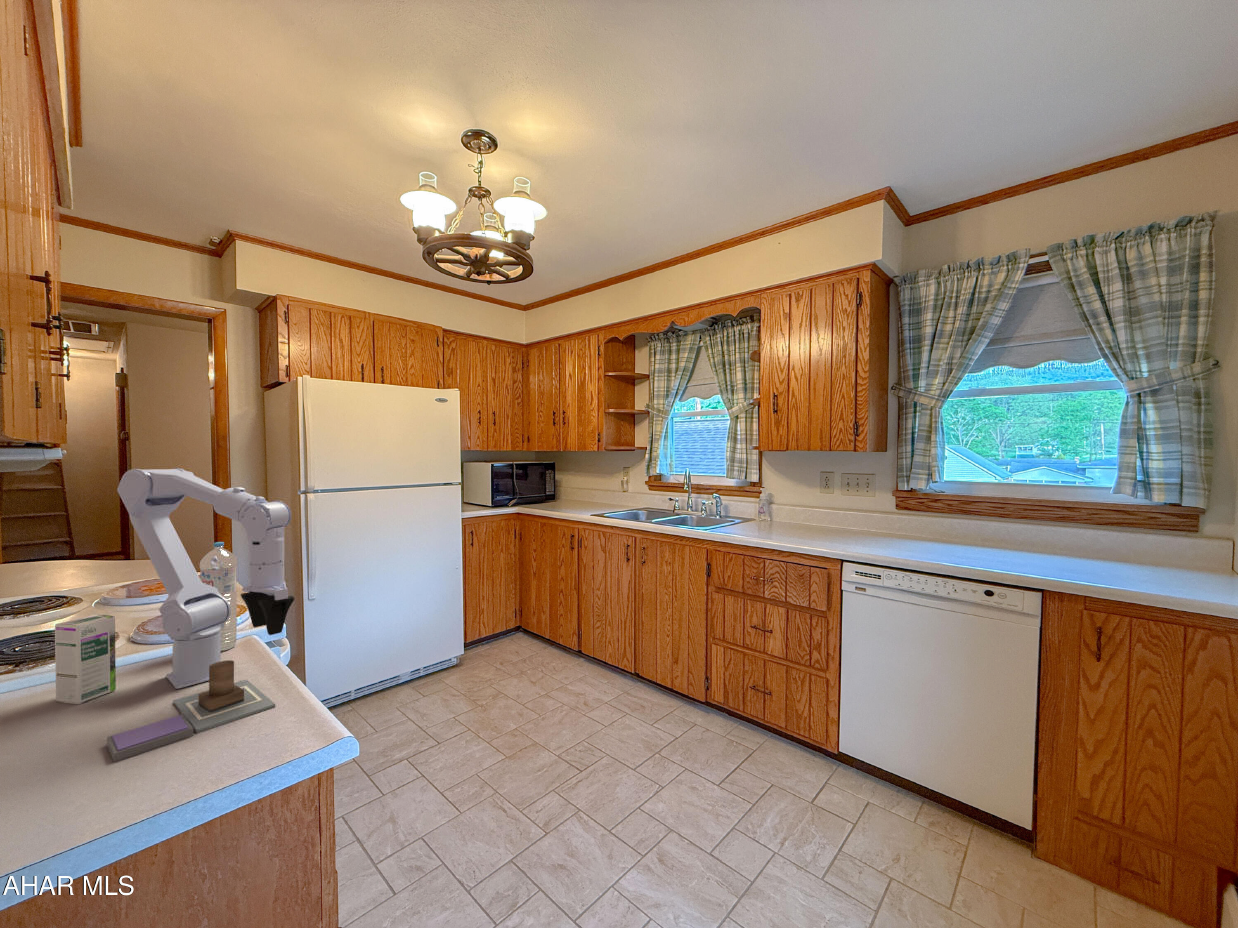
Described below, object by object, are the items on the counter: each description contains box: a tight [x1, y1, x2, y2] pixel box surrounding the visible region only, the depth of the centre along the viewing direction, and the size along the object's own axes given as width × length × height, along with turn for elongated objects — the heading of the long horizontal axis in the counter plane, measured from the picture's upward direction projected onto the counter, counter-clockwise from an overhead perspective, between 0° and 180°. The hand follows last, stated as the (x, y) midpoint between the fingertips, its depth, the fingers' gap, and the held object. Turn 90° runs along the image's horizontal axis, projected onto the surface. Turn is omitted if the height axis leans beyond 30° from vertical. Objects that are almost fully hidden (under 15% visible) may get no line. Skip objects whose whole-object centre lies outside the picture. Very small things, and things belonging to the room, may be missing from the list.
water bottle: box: [199, 541, 238, 653], centre depth 115 cm, size 7×7×25 cm
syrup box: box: [54, 614, 117, 705], centre depth 92 cm, size 6×6×14 cm
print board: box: [173, 679, 276, 734], centre depth 89 cm, size 16×11×1 cm
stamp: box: [199, 660, 244, 713], centre depth 89 cm, size 5×5×7 cm
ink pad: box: [106, 713, 194, 763], centre depth 78 cm, size 7×9×1 cm
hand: (267, 629), depth 99 cm, fingers open, 7 cm apart
